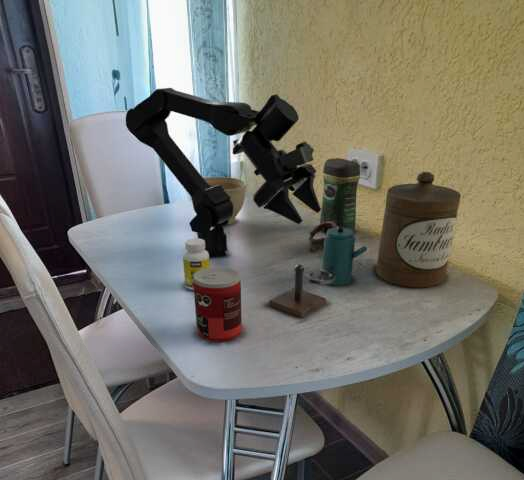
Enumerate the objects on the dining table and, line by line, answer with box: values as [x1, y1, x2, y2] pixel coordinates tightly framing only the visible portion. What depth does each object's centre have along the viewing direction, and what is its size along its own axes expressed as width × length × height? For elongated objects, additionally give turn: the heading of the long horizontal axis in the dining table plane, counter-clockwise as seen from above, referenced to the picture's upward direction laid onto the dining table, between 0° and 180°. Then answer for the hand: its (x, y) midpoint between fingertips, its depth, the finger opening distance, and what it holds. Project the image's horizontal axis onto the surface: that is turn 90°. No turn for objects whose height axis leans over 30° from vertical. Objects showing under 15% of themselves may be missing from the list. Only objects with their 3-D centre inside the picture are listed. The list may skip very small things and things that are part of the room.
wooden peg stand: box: [268, 264, 327, 319], centre depth 97 cm, size 8×8×8 cm
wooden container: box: [375, 171, 462, 288], centre depth 107 cm, size 15×15×22 cm
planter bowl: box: [190, 176, 248, 225], centre depth 143 cm, size 16×16×11 cm
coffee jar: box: [319, 157, 361, 232], centre depth 134 cm, size 10×8×19 cm
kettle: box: [305, 227, 368, 287], centre depth 103 cm, size 9×15×12 cm, turn 150°
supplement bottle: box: [182, 237, 211, 291], centre depth 105 cm, size 5×5×10 cm
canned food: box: [193, 266, 243, 343], centre depth 87 cm, size 8×8×11 cm
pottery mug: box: [308, 221, 339, 252], centre depth 124 cm, size 12×10×8 cm
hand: (310, 216), depth 106 cm, fingers open, 9 cm apart
